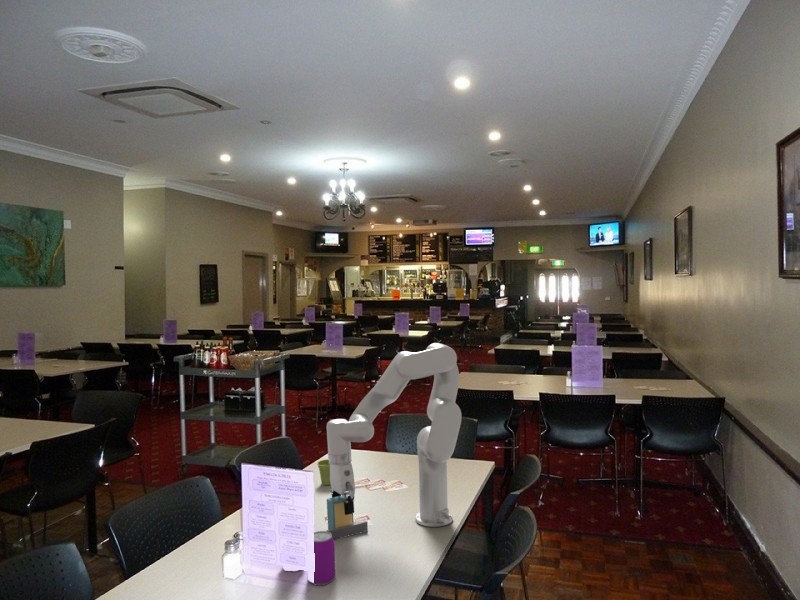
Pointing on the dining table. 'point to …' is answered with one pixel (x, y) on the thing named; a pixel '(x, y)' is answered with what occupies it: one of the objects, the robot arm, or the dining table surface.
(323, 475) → the plant pot
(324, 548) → the beverage can
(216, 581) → the dining table surface
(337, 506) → the tea box
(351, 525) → the rail
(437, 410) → the robot arm
